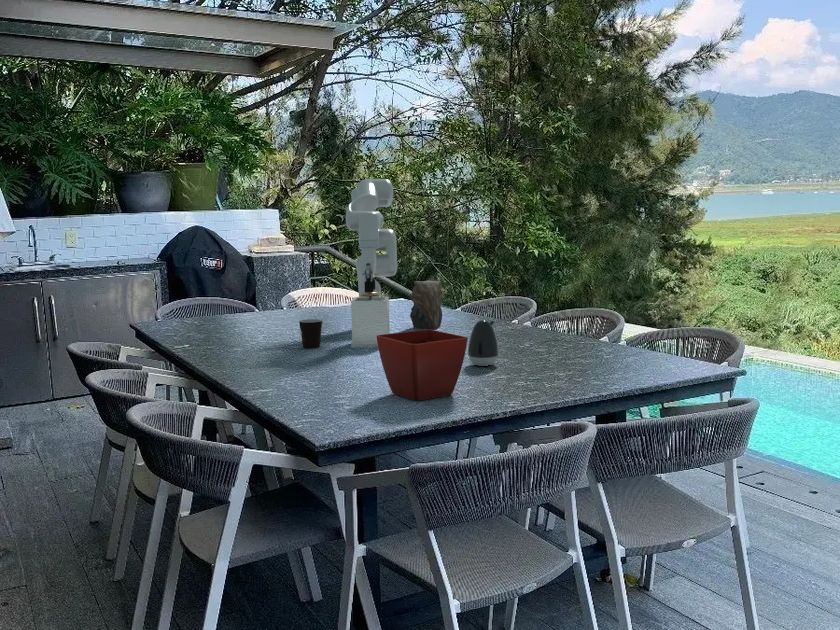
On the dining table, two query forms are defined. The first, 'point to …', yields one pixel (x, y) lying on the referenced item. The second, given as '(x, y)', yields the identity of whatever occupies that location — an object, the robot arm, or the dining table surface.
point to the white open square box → (369, 321)
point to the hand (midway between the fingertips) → (370, 290)
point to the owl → (426, 304)
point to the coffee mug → (311, 333)
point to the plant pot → (422, 362)
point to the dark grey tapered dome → (483, 344)
